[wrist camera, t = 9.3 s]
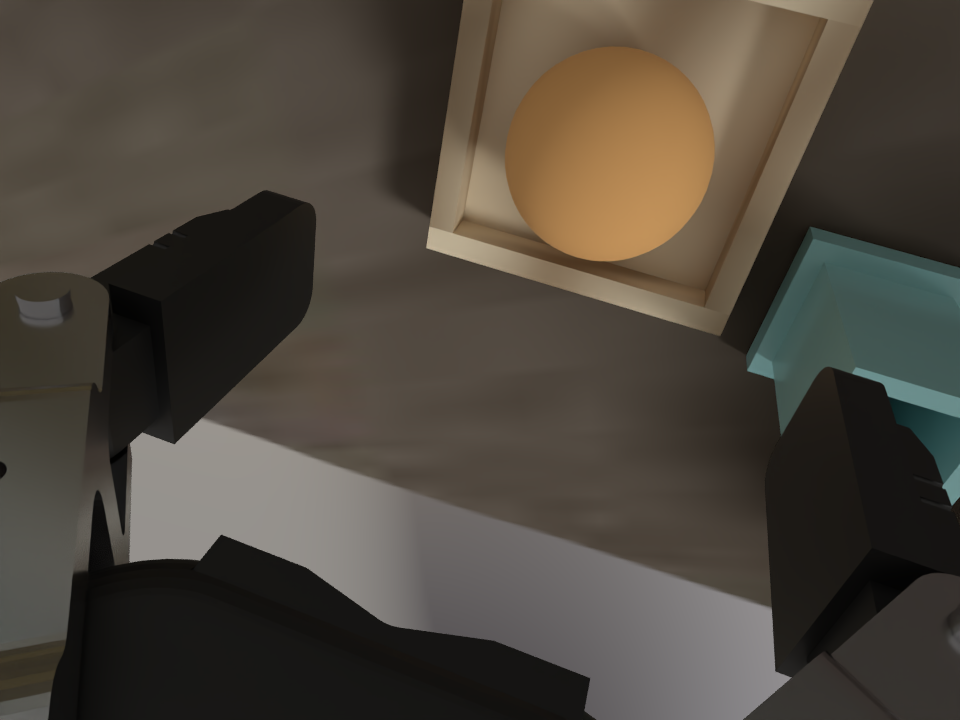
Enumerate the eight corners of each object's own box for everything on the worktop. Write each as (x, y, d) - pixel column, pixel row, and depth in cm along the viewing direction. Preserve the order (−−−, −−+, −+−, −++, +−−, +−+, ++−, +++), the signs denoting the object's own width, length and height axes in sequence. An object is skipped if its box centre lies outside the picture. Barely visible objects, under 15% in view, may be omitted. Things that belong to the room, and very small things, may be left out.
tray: (863, -17, 18) (878, -9, 17) (720, 307, 24) (720, 336, 22) (498, -101, 20) (478, -102, 18) (444, 226, 25) (426, 247, 24)
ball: (746, 59, 19) (753, 104, 15) (677, 239, 22) (667, 322, 18) (553, 11, 20) (504, 40, 16) (513, 192, 23) (463, 260, 19)
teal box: (976, 272, 21) (1070, 405, 16) (891, 399, 24) (944, 550, 18) (809, 226, 22) (842, 338, 16) (746, 355, 25) (754, 489, 19)
